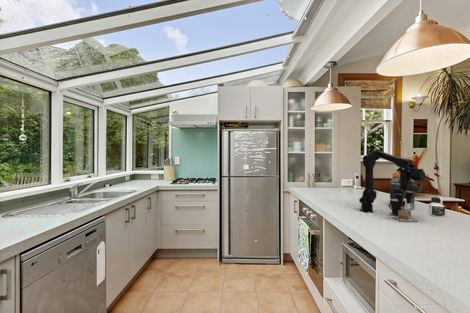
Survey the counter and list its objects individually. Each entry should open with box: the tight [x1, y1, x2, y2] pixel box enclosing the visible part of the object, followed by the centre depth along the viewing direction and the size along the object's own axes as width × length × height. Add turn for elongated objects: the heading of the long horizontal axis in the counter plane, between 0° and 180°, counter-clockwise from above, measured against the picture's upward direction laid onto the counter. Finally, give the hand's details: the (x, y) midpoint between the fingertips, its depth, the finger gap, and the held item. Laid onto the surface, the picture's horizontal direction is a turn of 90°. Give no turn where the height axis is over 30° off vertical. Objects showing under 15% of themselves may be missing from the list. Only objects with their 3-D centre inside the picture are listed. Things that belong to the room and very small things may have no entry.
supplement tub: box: [389, 172, 416, 211], centre depth 200 cm, size 16×16×26 cm
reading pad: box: [391, 216, 419, 223], centre depth 165 cm, size 10×10×1 cm
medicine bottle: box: [428, 196, 446, 218], centre depth 177 cm, size 7×7×12 cm
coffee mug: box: [388, 199, 406, 217], centre depth 178 cm, size 12×9×10 cm
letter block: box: [397, 210, 412, 220], centre depth 165 cm, size 5×5×5 cm
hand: (405, 204), depth 164 cm, fingers open, 9 cm apart
